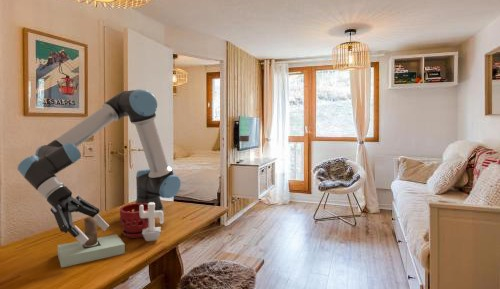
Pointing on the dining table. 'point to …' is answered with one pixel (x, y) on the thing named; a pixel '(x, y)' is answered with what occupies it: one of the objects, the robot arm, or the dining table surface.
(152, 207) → the figurine
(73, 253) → the board
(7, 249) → the dining table surface
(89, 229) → the peg
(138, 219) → the plant pot
